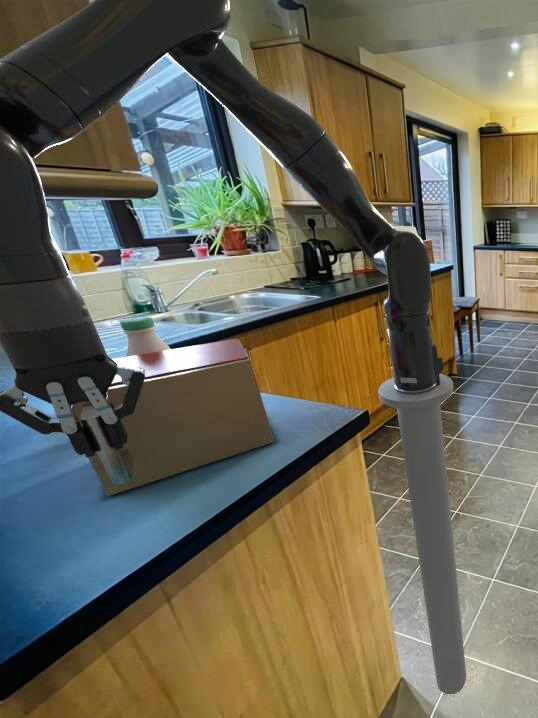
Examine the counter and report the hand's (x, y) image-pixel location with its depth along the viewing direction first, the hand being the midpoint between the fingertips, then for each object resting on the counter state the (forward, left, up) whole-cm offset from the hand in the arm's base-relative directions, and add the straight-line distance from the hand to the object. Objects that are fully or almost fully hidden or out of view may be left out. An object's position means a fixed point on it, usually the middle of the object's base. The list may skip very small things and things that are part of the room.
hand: (105, 450), depth 52 cm
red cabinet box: (-8, -15, -10) cm, 20 cm away
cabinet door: (-8, -4, -10) cm, 13 cm away
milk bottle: (-5, -33, -10) cm, 35 cm away
